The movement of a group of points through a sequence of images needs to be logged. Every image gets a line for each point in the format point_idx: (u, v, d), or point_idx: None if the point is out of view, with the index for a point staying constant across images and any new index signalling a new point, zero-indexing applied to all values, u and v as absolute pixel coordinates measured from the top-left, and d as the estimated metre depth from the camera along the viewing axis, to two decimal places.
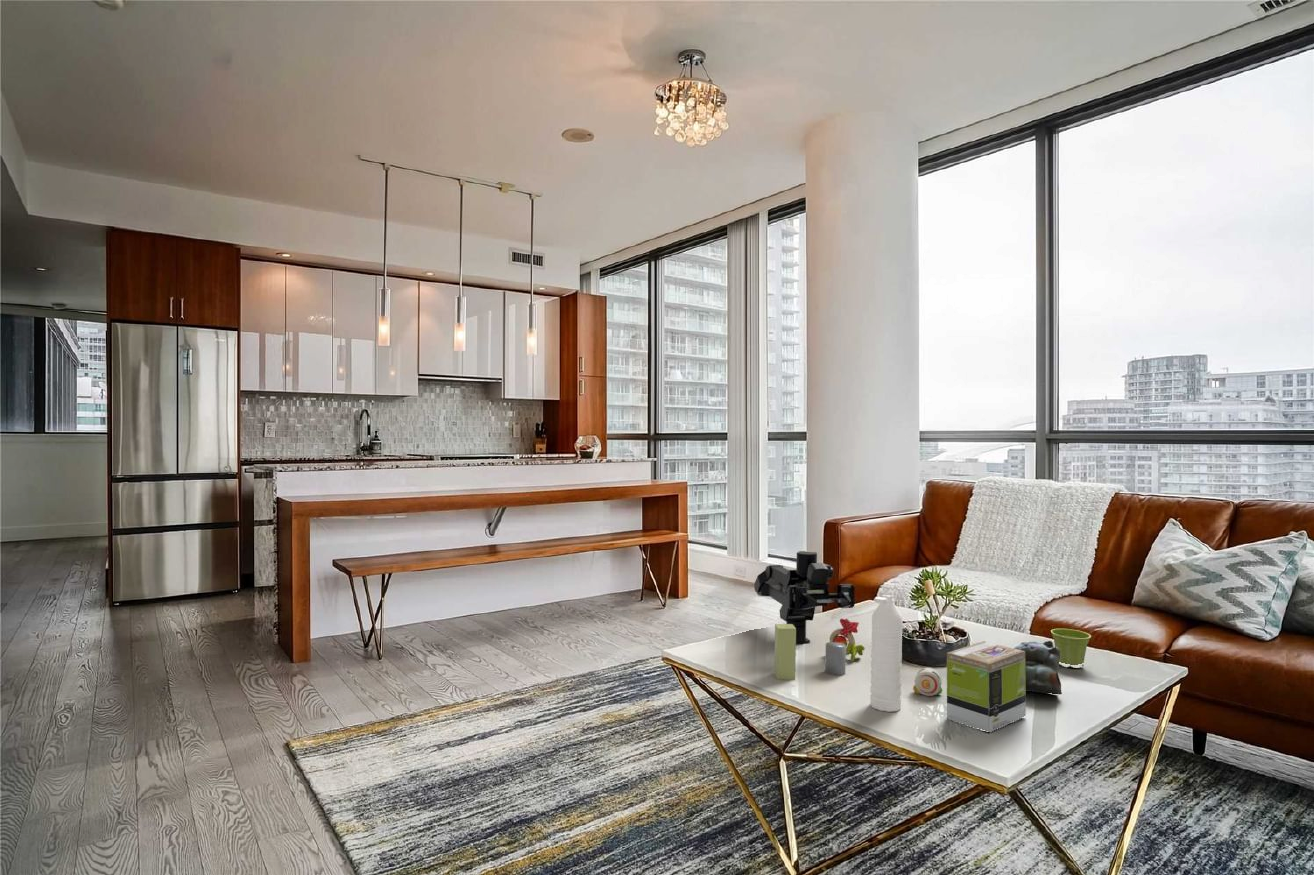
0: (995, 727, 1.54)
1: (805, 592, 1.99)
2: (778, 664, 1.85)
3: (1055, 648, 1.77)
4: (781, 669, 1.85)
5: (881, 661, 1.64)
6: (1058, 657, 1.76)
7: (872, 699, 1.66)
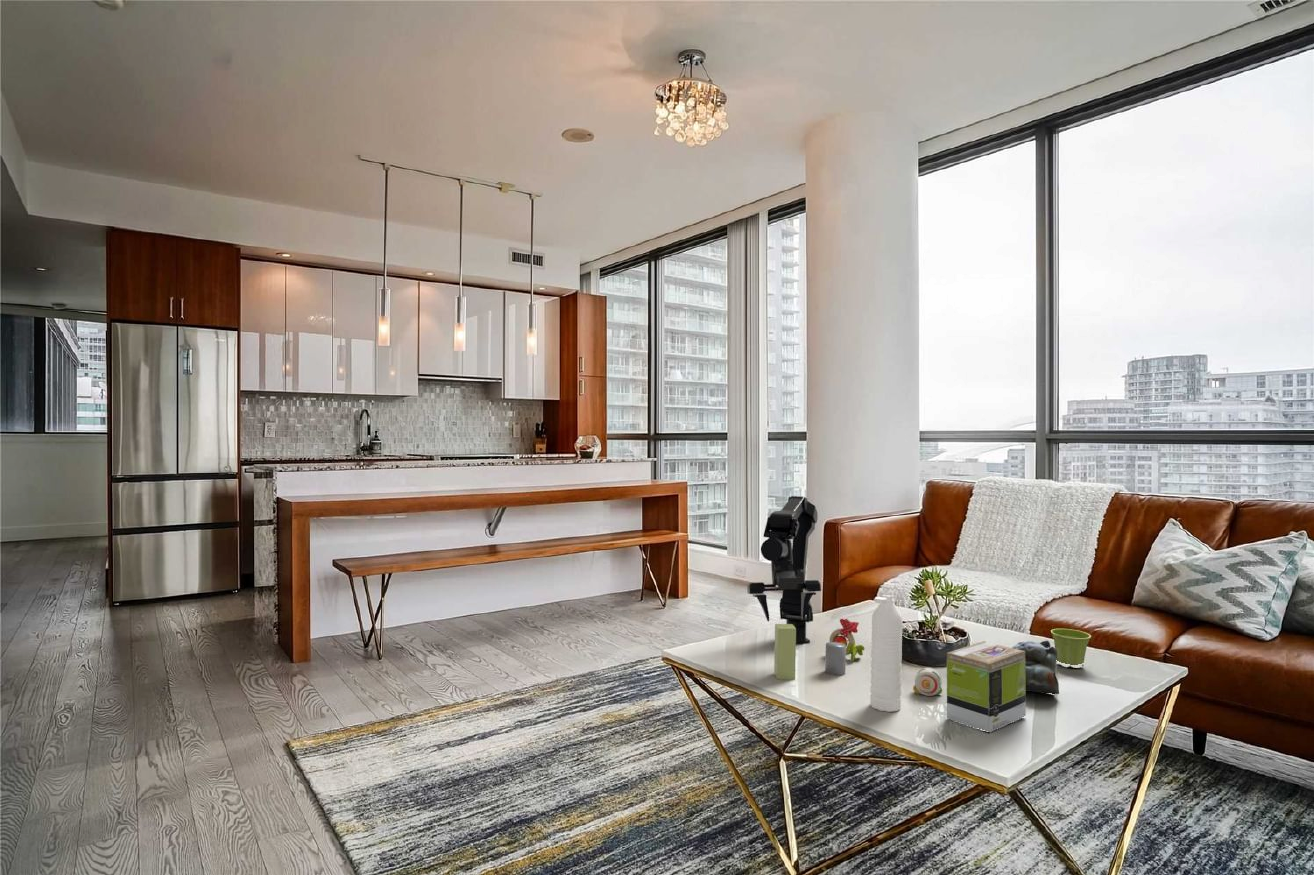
0: (995, 727, 1.54)
1: (764, 599, 1.96)
2: (778, 664, 1.85)
3: (1052, 648, 1.77)
4: (781, 669, 1.85)
5: (881, 661, 1.64)
6: (1055, 657, 1.76)
7: (872, 699, 1.66)
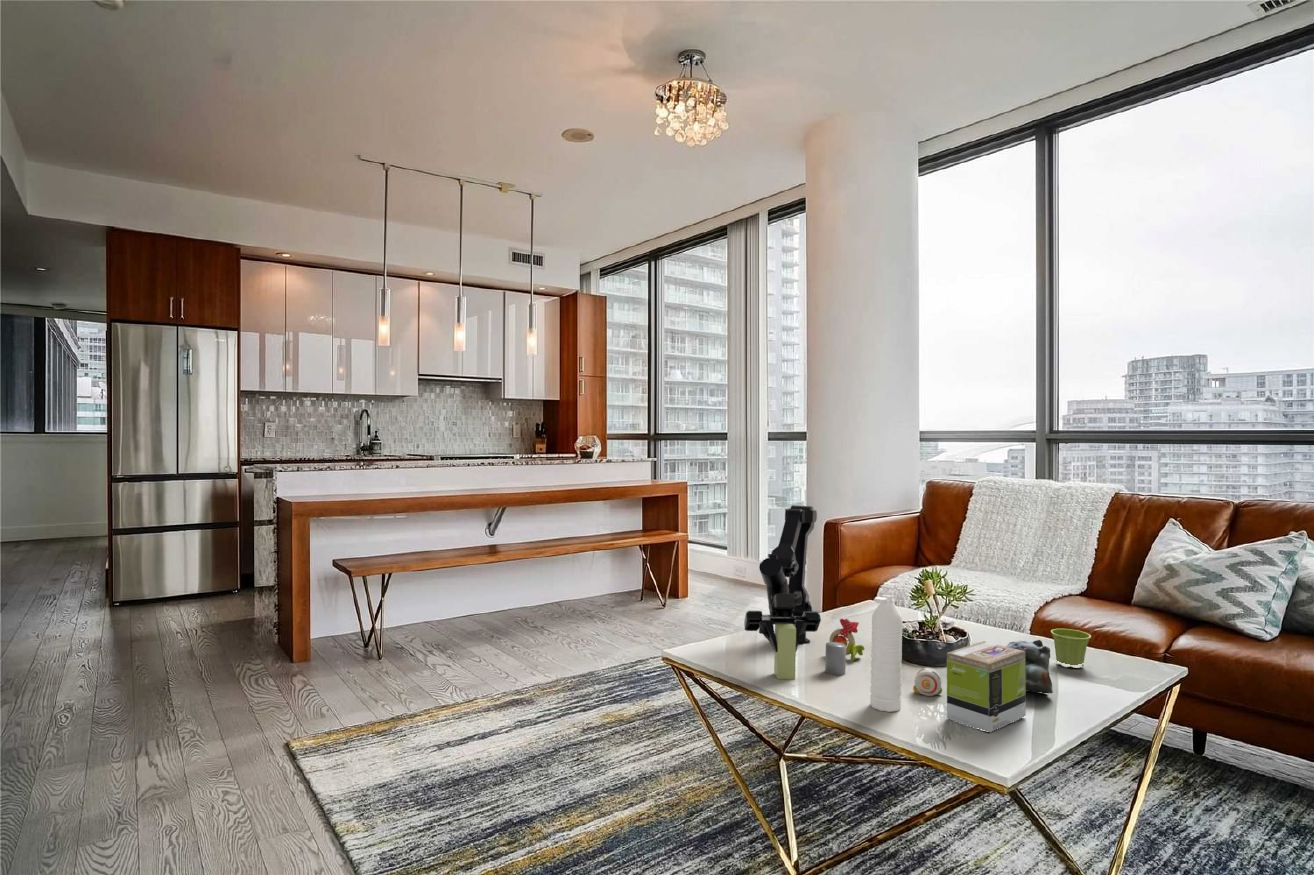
0: (995, 727, 1.54)
1: (771, 627, 1.88)
2: (778, 664, 1.85)
3: (1045, 647, 1.77)
4: (781, 668, 1.85)
5: (881, 661, 1.64)
6: (1048, 656, 1.76)
7: (872, 699, 1.66)
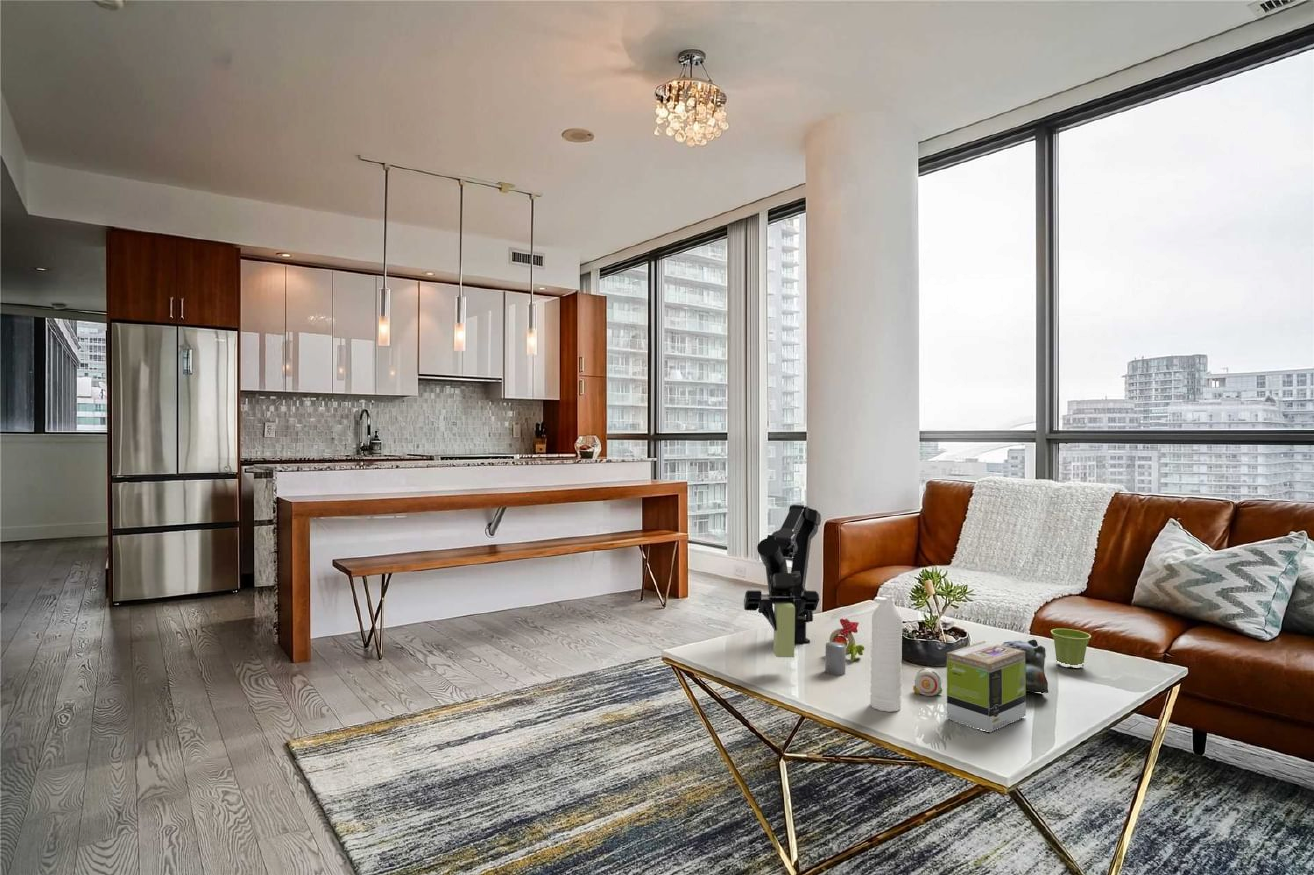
0: (995, 727, 1.54)
1: (770, 606, 1.90)
2: (777, 642, 1.87)
3: (1041, 647, 1.77)
4: (780, 647, 1.87)
5: (881, 661, 1.64)
6: (1044, 656, 1.77)
7: (872, 699, 1.66)
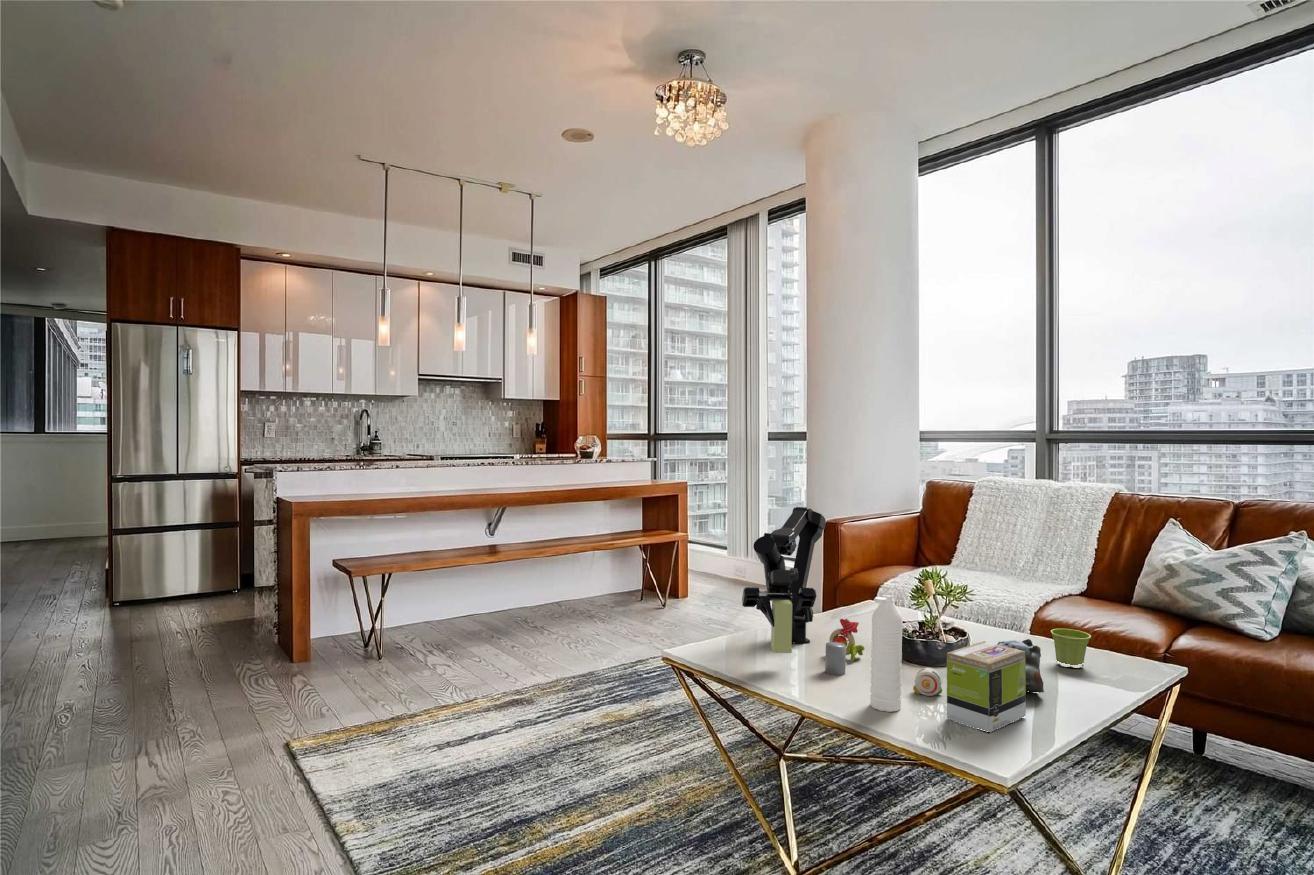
0: (995, 727, 1.54)
1: (768, 602, 1.93)
2: (775, 638, 1.90)
3: (1036, 646, 1.78)
4: (777, 643, 1.90)
5: (881, 661, 1.64)
6: (1039, 655, 1.77)
7: (872, 699, 1.66)
